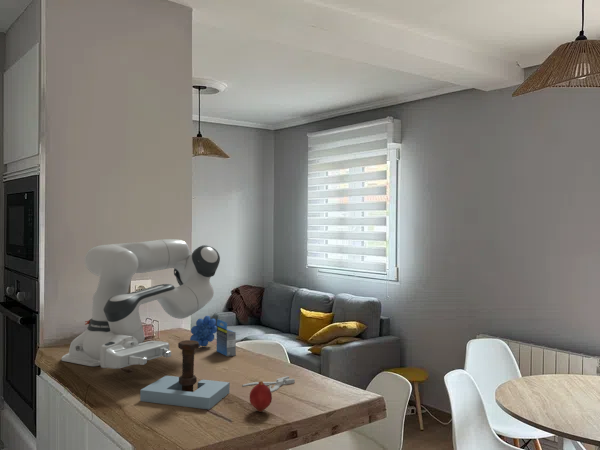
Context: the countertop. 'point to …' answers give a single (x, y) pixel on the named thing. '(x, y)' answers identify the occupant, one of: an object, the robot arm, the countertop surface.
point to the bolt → (188, 364)
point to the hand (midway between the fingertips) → (157, 357)
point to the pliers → (277, 384)
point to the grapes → (204, 331)
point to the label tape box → (225, 339)
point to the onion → (260, 396)
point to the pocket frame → (185, 393)
